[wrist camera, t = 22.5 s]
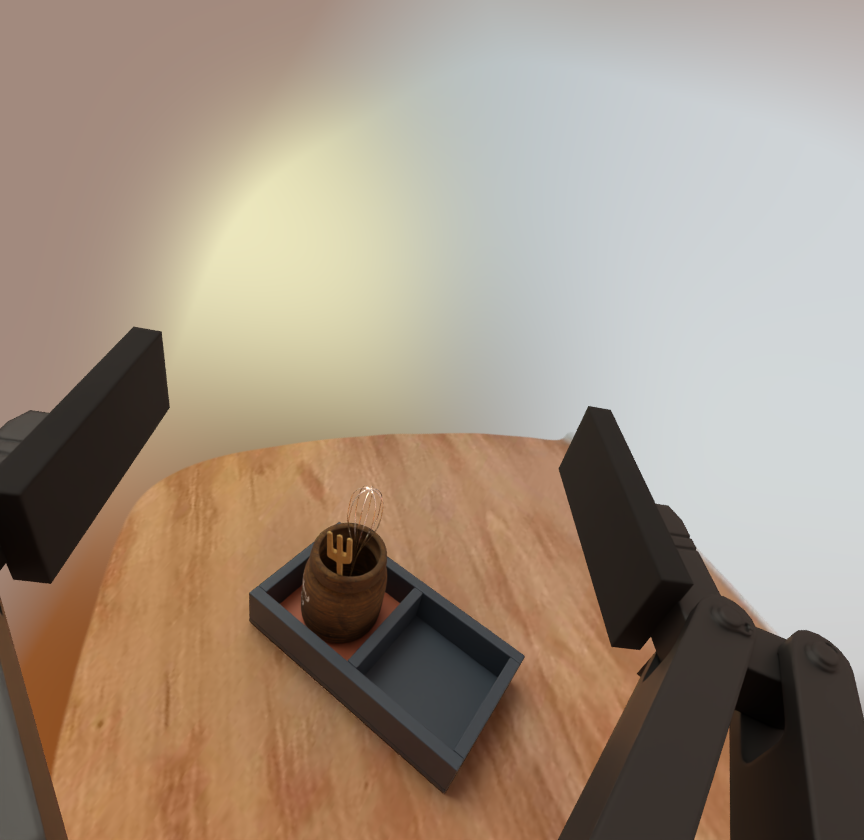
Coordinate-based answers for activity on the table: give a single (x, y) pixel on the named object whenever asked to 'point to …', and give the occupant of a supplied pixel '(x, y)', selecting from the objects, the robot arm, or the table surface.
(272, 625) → the tray
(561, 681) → the table surface
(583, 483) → the robot arm
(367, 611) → the utensil holder
